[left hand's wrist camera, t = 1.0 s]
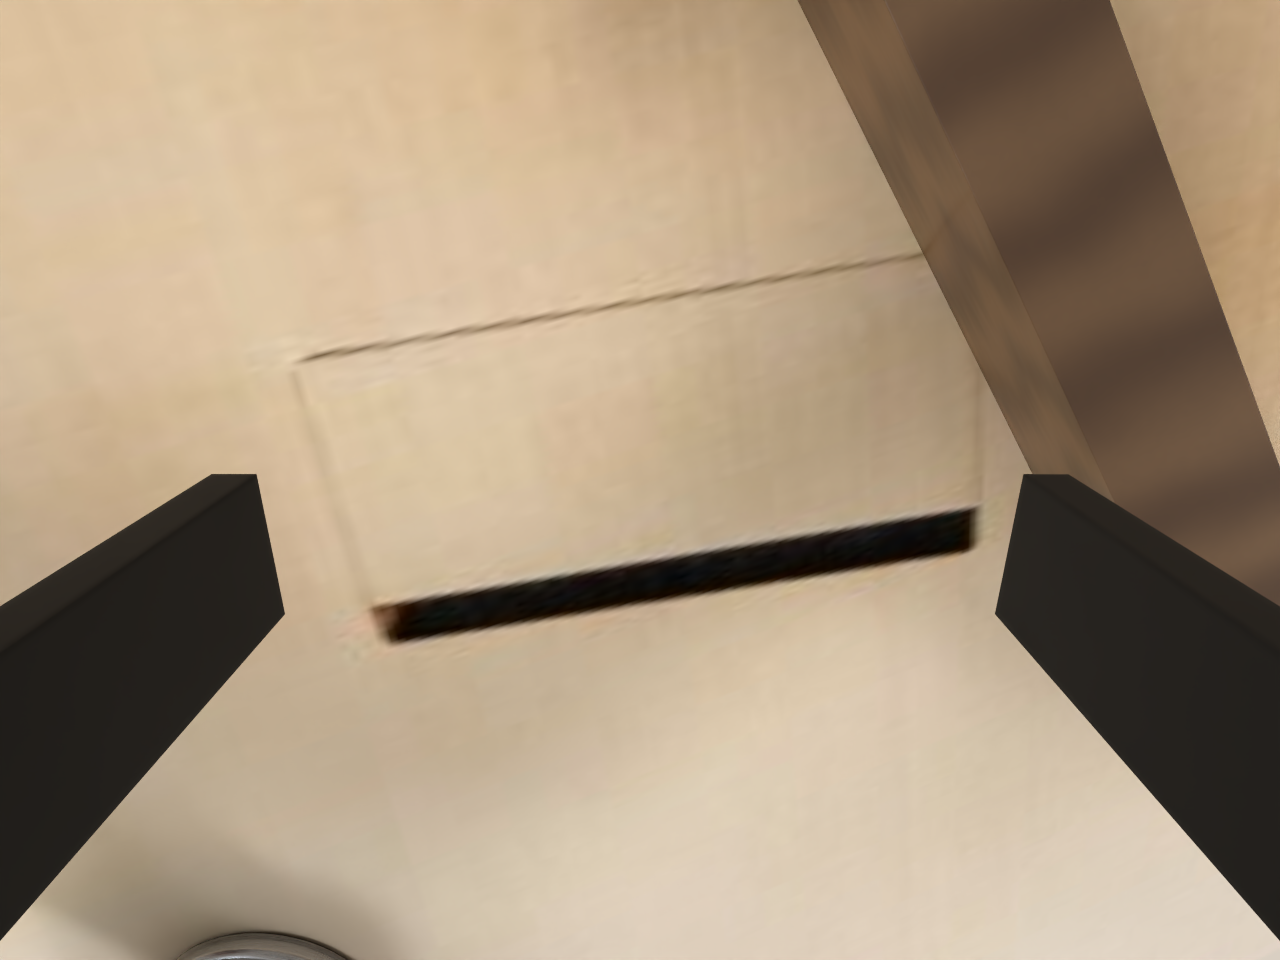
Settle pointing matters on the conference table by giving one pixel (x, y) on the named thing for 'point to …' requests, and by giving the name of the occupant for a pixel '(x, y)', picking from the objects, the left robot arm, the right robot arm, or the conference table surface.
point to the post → (1066, 255)
